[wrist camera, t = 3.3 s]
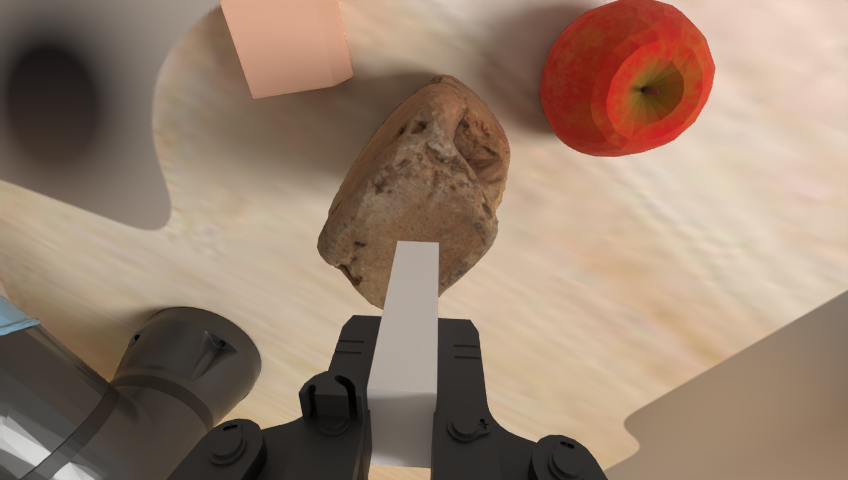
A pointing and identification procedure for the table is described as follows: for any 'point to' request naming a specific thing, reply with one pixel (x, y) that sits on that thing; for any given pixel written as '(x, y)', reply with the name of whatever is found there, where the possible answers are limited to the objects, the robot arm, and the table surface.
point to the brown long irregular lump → (420, 189)
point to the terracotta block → (288, 44)
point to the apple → (626, 78)
